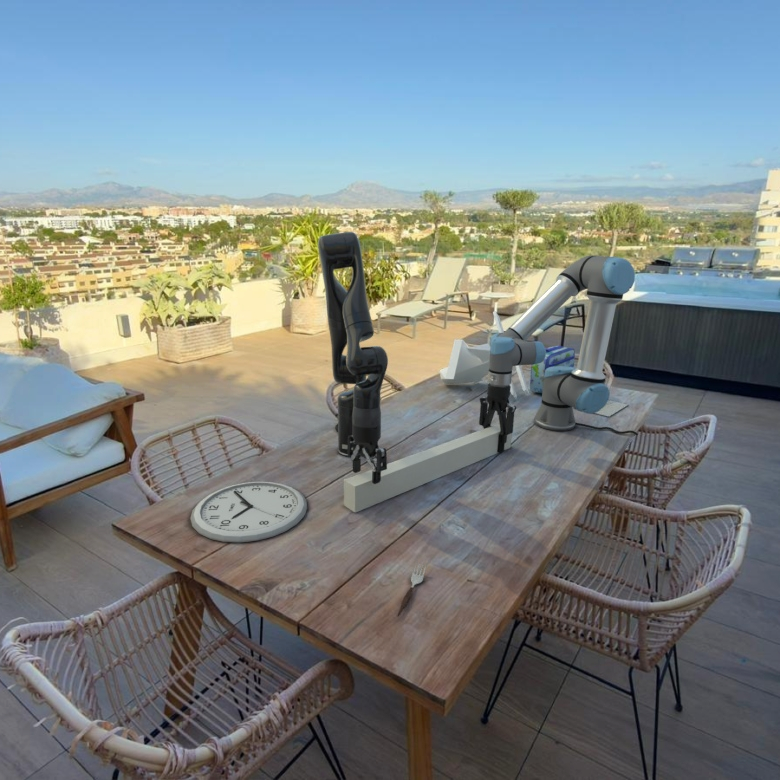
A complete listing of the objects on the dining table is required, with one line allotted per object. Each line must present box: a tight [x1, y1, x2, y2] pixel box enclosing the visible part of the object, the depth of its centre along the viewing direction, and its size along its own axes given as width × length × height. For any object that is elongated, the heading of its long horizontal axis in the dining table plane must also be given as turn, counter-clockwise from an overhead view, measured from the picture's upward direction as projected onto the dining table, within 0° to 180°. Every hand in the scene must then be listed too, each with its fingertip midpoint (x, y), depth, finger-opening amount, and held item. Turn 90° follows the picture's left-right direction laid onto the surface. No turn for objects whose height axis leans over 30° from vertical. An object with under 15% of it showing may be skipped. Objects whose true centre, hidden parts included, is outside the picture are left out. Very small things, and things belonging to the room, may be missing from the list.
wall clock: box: [190, 481, 308, 544], centre depth 139 cm, size 30×2×30 cm
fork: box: [397, 562, 427, 617], centre depth 109 cm, size 3×16×2 cm, turn 160°
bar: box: [343, 422, 513, 514], centre depth 161 cm, size 68×5×8 cm, turn 131°
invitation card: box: [595, 399, 629, 418], centre depth 226 cm, size 21×1×15 cm
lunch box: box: [529, 345, 576, 394], centre depth 244 cm, size 26×11×21 cm, turn 135°
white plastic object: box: [438, 310, 531, 400], centre depth 245 cm, size 37×45×31 cm
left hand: (366, 477), depth 142 cm, fingers open, 8 cm apart
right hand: (493, 448), depth 180 cm, fingers closed on bar, 5 cm apart
